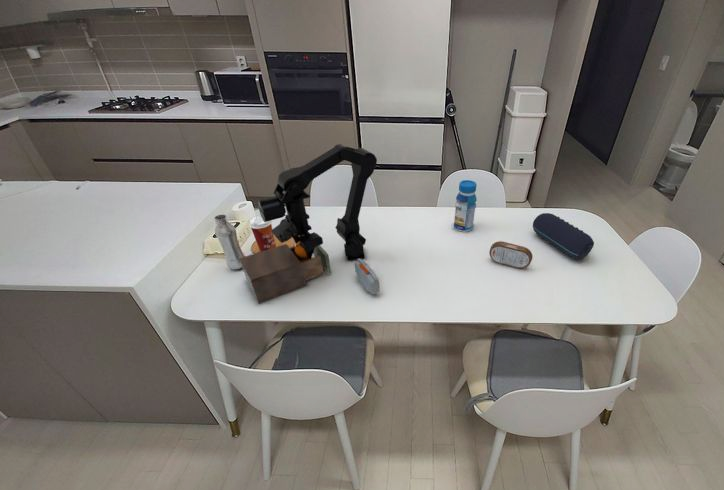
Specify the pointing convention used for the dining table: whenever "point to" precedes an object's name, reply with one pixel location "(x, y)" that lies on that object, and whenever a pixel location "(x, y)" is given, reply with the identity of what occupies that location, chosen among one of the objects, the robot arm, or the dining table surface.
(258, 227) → the paper cup
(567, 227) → the portable speaker
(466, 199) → the beverage bottle
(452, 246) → the dining table surface
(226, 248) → the plastic bottle
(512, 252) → the tin
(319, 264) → the drawer
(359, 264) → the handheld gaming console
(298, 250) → the orange
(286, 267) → the cabinet
